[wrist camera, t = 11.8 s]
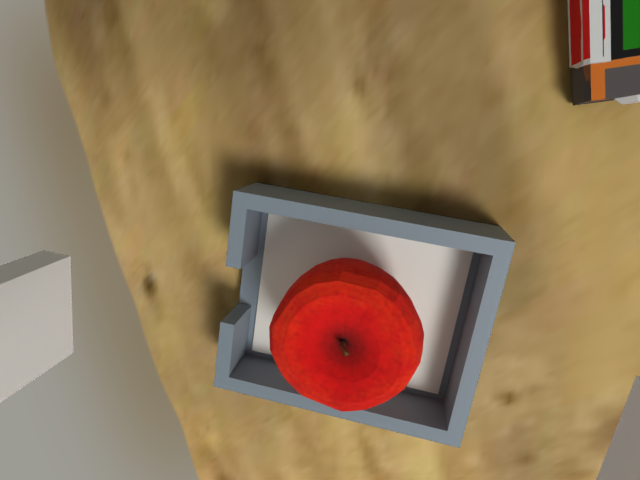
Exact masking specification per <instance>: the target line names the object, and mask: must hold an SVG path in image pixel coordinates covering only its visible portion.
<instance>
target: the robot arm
mask: <svg viewBox="0 0 640 480" xmlns="http://www.w3.org/2000/svg"><path fill="white" fill-rule="evenodd" d="M71 294H72V293H71V259H70V256H68V255H63V254H59V253H54V252H49V251H45V250H43V251H40V252H38V253H35V254H32V255H29V256H27V257H24V258H21V259H18V260H15V261H13V262H10V263H7V264H4V265H2V266H0V403H1V402H2V401H4V400H5V399H7V398H8V397H9V396H11V395H12V394H14V393H15V392H17V391H18V390H19V389H21V388H22V387H24V386H25V385H27V384H28V383H30V382H31V381H32V380H34V379H36V378H37V377H38V376H40V375H41V374H43V373H44V372H46V371H47V370H49V369H50V368H51V367H53V366H54V365H56V364H57V363H59V362H60V361H61V360H63V359H65V358H66V357H67V356H69V355H70V354H72V353H73V326H72V295H71ZM597 480H640V376H636V378H635V381H634V384H633V386H632V389H631V391H630V394H629V396H628V399H627V402H626V404H625V407H624V409H623V412H622V415H621V417H620V420H619V422H618V425H617V428H616V430H615V433H614V435H613V438H612V441H611V443H610V446H609V448H608V451H607V454H606V456H605V459H604V461H603V464H602V467H601V469H600V472H599V474H598V477H597Z"/></svg>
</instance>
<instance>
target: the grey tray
mask: <svg viewBox="0 0 640 480" xmlns="http://www.w3.org/2000/svg"><path fill="white" fill-rule="evenodd" d="M515 243H516V242H515V241H514V240H513V239H512V238H511V237H510V236H509V235H508V234H507V233H506V232H505V231H504V230H503V229H502V228H501V226H496V225H490V224H485V223H479V222H473V221H468V220H462V219H457V218H451V217H446V216H440V215H434V214H429V213H423V212H418V211H412V210H407V209H401V208H396V207H390V206H384V205H379V204H373V203H368V202H362V201H357V200H351V199H345V198H340V197H334V196H329V195H323V194H318V193H312V192H306V191H301V190H295V189H290V188H284V187H279V186H273V185H267V184H262V183H254V184H251V185H248V186H245V187H242V188H239V189H236V190H234V191H233V198H232V208H231V219H230V229H229V239H228V249H227V259H226V266H228V267H232V268H237V269H241V268H242V267H243V269H242V279H241V288H240V297H239V303H238V304H237V305H236V306H235V307H234V308H233V309H232V310H231V311H230V312H229V313H228V314H227V315H226V317H225V318H224V319H223V320H222V321H221V322H220V330H219V340H218V350H217V360H216V370H215V381H214V386H215V387H219V388H223V389H227V390H231V391H234V392H238V393H242V394H246V395H250V396H254V397H258V398H262V399H266V400H270V401H274V402H278V403H282V404H286V405H290V406H294V407H298V408H302V409H306V410H310V411H314V412H318V413H322V414H326V415H330V416H334V417H338V418H342V419H346V420H350V421H354V422H358V423H362V424H366V425H370V426H374V427H378V428H382V429H386V430H390V431H394V432H398V433H402V434H406V435H410V436H414V437H418V438H422V439H426V440H430V441H434V442H438V443H442V444H446V445H450V446H454V447H458V448H460V445H461V441H462V437H463V434H464V430H465V426H466V423H467V419H468V416H469V412H470V408H471V405H472V401H473V397H474V394H475V390H476V386H477V383H478V379H479V375H480V372H481V368H482V364H483V361H484V357H485V353H486V350H487V346H488V342H489V339H490V335H491V331H492V328H493V324H494V320H495V317H496V313H497V309H498V306H499V302H500V298H501V295H502V291H503V287H504V284H505V280H506V276H507V273H508V269H509V265H510V262H511V258H512V254H513V251H514V247H515ZM338 258H354V259H359V260H363V261H366V262H368V263H370V264H373V265H375V266H377V267H379V268H381V269H383V270H384V271H385V272H387V273H388V274H390V275H391V276H393V277H394V278H395V279H396V280H397V281H398V283H399V284H400V285H401V286H402V287H403V289H404V290H405V291H406V293H407V294H408V296H409V297H410V298H411V300H412V302H413V305H414V307H415V309H416V311H417V313H418V315H419V318H420V320H421V322H422V327H423V331H424V342H423V352H422V357H421V362H420V364H419V366H418V368H417V369H416V371H415V373H414V375H413V376H412V378H411V380H410V381H409V383H408V384H407V386H406V388H405V389H403V390H402V391H401V392H400V393H398V394H397V395H396V396H394V397H392V398H391V399H389V400H388V401H386V402H384V403H382V404H379V405H377V406H374V407H371V408H369V409H366V410H358V411H343V412H341V411H339V410H336V409H333V408H331V407H328V406H326V405H324V404H321V403H319V402H316V401H314V400H311V399H309V398H306V397H304V396H302V395H301V394H300V393H298V392H297V391H296V390H295V389H294V388H293V387H292V386H291V385H290V384H289V383H288V382H287V381H286V380H285V379H284V377H283V376H282V374H281V372H280V371H279V369H278V368H277V365H276V363H275V361H274V358H273V356H272V354H271V351H270V338H269V326H270V323H271V320H272V318H273V315H274V313H275V311H276V309H277V307H278V306H279V304H280V302H281V300H282V299H283V297H284V296H285V294H286V292H287V291H288V289H289V288H290V287H291V286H292V285H293V283H294V282H295V281H296V280H297V279H298V278H299V277H300V276H301V275H303V274H304V273H306V272H307V271H308V270H310V269H311V268H313V267H314V266H316V265H318V264H320V263H323V262H325V261H328V260H331V259H338Z"/></svg>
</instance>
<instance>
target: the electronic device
mask: <svg viewBox="0 0 640 480" xmlns="http://www.w3.org/2000/svg"><path fill="white" fill-rule="evenodd" d="M567 1H568V34H569V67H570V68H572V92H573V105H580V104H588V103H595V102H603V101H610V100H616V101H618V102H619V103H620V104H631V103H638V102H640V0H567Z"/></svg>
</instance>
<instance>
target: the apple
mask: <svg viewBox="0 0 640 480" xmlns="http://www.w3.org/2000/svg"><path fill="white" fill-rule="evenodd" d="M269 338H270V351H271V354H272V356H273V358H274V361H275V363H276V365H277V368H278V369H279V371H280V372H281V374H282V376H283V377H284V379H285V380H286V381H287V382H288V383H289V384H290V385H291V386H292V387H293V388H294V389H295V390H296V391H297V392H298V393H300V394H301V395H302V396H304V397H306V398H309V399H311V400H314V401H316V402H319V403H321V404H324V405H326V406H328V407H331V408H333V409H336V410H339V411H341V412H343V411H358V410H366V409H369V408H371V407H374V406H377V405H379V404H382V403H384V402H386V401H388V400H389V399H391V398H392V397H394V396H396V395H397V394H398V393H400V392H401V391H402V390H403V389H405V388H406V386H407V384H408V383H409V381H410V380H411V378H412V376H413V375H414V373H415V371H416V369H417V368H418V366H419V364H420V362H421V357H422V352H423V342H424V331H423V327H422V322H421V320H420V318H419V315H418V313H417V311H416V309H415V307H414V305H413V302H412V300H411V298H410V297H409V296H408V294H407V293H406V291H405V290H404V289H403V287H402V286H401V285H400V284H399V283H398V281H397V280H396V279H395V278H394V277H393V276H391V275H390V274H388V273H387V272H385V271H384V270H383V269H381V268H379V267H377V266H375V265H373V264H370V263H368V262H366V261H363V260H359V259H354V258H338V259H331V260H328V261H325V262H323V263H320V264H318V265H316V266H314V267H313V268H311V269H310V270H308V271H307V272H306V273H304V274H303V275H301V276H300V277H299V278H298V279H297V280H296V281H295V282H294V283H293V285H292V286H291V287H290V288H289V289H288V291H287V292H286V294H285V296H284V297H283V299H282V300H281V302H280V304H279V306H278V307H277V309H276V311H275V313H274V315H273V318H272V320H271V323H270V326H269Z"/></svg>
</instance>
